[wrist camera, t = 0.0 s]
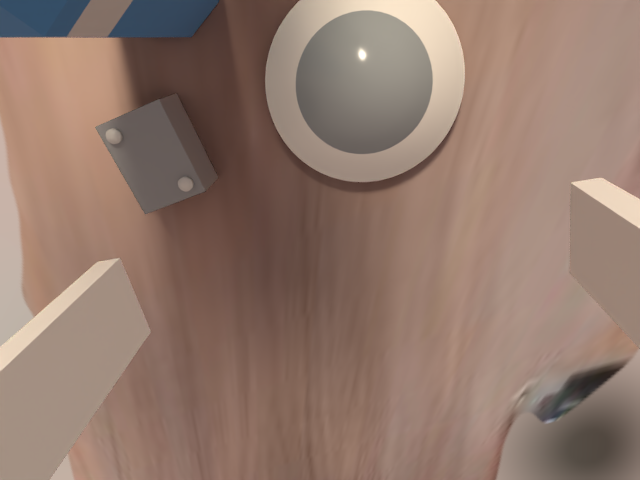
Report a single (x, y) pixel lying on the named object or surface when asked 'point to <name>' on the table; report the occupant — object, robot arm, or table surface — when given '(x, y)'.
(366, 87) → the cream plate
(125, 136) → the box
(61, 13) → the water bottle
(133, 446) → the table surface
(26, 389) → the robot arm
